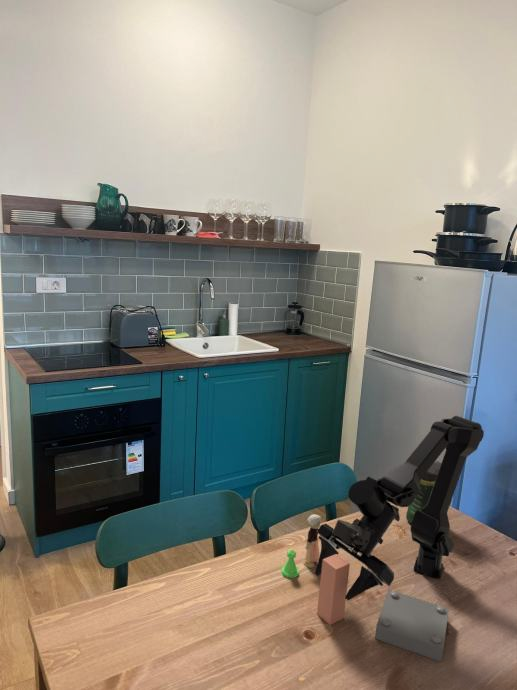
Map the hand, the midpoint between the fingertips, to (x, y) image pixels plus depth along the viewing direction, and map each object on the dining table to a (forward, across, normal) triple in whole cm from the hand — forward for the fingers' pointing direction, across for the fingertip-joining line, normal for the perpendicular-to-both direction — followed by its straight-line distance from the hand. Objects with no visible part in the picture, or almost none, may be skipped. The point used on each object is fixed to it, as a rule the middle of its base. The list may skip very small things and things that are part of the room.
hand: (330, 586), depth 113 cm
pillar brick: (+5, 0, +6) cm, 7 cm away
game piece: (+3, -16, +7) cm, 18 cm away
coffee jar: (-32, -15, +42) cm, 55 cm away
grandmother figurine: (-2, -17, +13) cm, 21 cm away
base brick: (-4, +12, +14) cm, 19 cm away
